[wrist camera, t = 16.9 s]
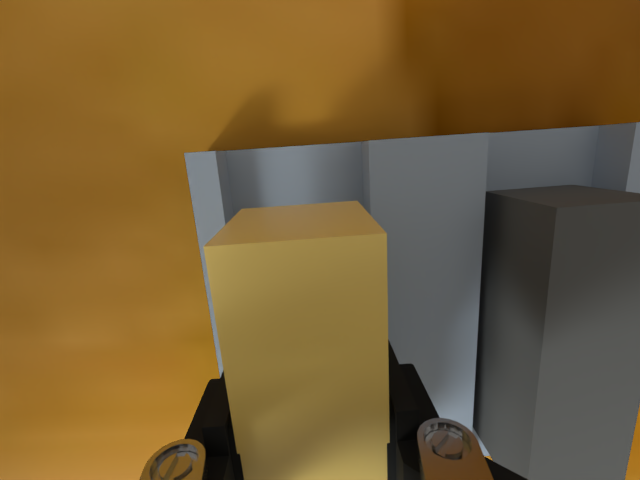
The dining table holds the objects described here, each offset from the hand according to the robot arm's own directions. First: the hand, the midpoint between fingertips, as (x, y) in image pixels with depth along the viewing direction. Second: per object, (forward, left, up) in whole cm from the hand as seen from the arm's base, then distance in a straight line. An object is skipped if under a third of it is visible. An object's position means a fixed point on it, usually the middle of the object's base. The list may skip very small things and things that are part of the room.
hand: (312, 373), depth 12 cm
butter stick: (0, 0, 0) cm, 0 cm away
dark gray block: (+9, 0, -3) cm, 9 cm away
